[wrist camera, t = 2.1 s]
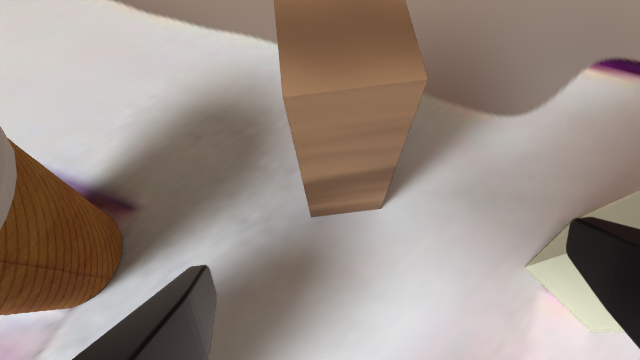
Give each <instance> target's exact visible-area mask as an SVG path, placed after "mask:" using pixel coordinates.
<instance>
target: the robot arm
mask: <svg viewBox="0 0 640 360" xmlns="http://www.w3.org/2000/svg"><path fill="white" fill-rule="evenodd" d="M566 253H567V255H568V257H569V259H570V260H571V262H572V263H573V264H574V266H575V267H576V269H577V270H578V271H579V273H580V274H581V276H582V277H583V278H584V280H585V281H586V283H587V284H588V285H589V287H590V288H591V290H592V291H593V292H594V294H595V295H596V297H597V298H598V299H599V301H600V302H601V303H602V305H603V306H604V307H605V309H606V310H607V311H608V312H609V314H610V315H611V316H612V317H613V319H614V320H615V321H616V322H617V323H618V324H619V325H620V327H621V328H622V329H623V330H624V331H625V332H626V334H627V335H628V336H629V337H630V338H631V339H632V340H633V342H634V343H635V344H636V345H637V346H638V347H639V349H640V229H638V228H634V227H630V226H626V225H622V224H619V223H615V222H611V221H607V220H603V219H599V218H595V217H581V218H575V219H573V220H572V221H571V222H570V225H569V230H568V236H567V242H566ZM216 300H217V297H216V290H215V286H214V283H213V279H212V276H211V272H210V269H209V267H208V266H207V265H200V266H192V267H189V268H188V269H187V270H186V271H184V272H183V273H182V274H180V275H179V276H178V277H177V278H175V279H174V280H173V281H171V282H170V283H169V284H168V285H166V286H165V287H164V288H163V289H161V290H160V291H159V292H157V293H156V294H155V295H154V296H152V297H151V298H150V299H149V300H147V301H146V302H145V303H143V304H142V305H141V306H140V307H138V308H137V309H136V310H135V311H133V312H132V313H131V314H129V315H128V316H127V317H126V318H124V319H123V320H122V321H121V322H119V323H118V324H117V325H115V326H114V327H113V328H112V329H110V330H109V331H108V332H106V333H105V334H104V335H103V336H101V337H100V338H99V339H98V340H96V341H95V342H94V343H92V344H91V345H90V346H89V347H87V348H86V349H85V350H84V351H82V352H81V353H80V354H78V355H77V356H76V357H75V358H73V359H72V360H208V358H209V352H210V345H211V338H212V330H213V323H214V316H215V308H216Z"/></svg>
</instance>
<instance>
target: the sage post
mask: <svg viewBox="0 0 640 360" xmlns="http://www.w3.org/2000/svg"><path fill="white" fill-rule="evenodd" d="M582 217H595V218H599V219H603V220H607V221H611V222H615V223H619V224H622V225H626V226H630V227H634V228H638V229H640V190H638V191H636V192H634V193H632V194H630V195H627V196H625V197H623V198H621V199H619V200H616V201H614V202H612V203H610V204H608V205H606V206H603V207H601V208H599V209H597V210H595V211H593V212H590V213H588V214H586V215H584V216H582ZM580 218H581V217H580ZM569 225H570V224H569ZM569 225H568V226H567V227H566V228H565V229H564V230H563V231H562V232H561V233H560V234H559V235H558V236H556V237H555V238H554V239H553V240H552V241H551V242H550V243H549V244H548V245H547V246H546V247H545V248H544V249H543V250H542V251H541V252H540V253H539V254H538V255H537V256H536V257H535V258H534V259H533V260H532V261H531V262H530V263H529V264H528V265H527V266H525V268H526V269H527V270H528V271H529V272H530V273H531V274H532V275H533V276H534V277H535V278H536V279H537V280H538V281H539V282H540V283H541V284H542V285H543V286H544V287H545V288H546V289H547V290H548V291H549V292H550V293H551V294H552V295H553V296H554V297H555V298H557V299H558V300H559V301H560V302H561V303H562V304H563V305H564V306H565V307H566V308H567V309H568V310H569V311H570V312H571V313H572V314H573V315H574V316H575V317H576V318H577V319H578V320H579V321H580V322H581V323H582V324H583V325H584V326H585V327H586V328H587V329H588V330H589V331H590V332H625V331H624V330H623V329H622V328H621V327H620V325H619V324H618V323H617V322H616V321H615V320H614V319H613V317H612V316H611V315H610V314H609V312H608V311H607V310H606V309H605V307H604V306H603V305H602V303H601V302H600V301H599V299H598V298H597V297H596V295H595V294H594V292H593V291H592V290H591V288H590V287H589V285H588V284H587V283H586V281H585V280H584V278H583V277H582V276H581V274H580V273H579V271H578V270H577V269H576V267H575V266H574V264H573V263H572V262H571V260H570V259H569V257H568V255H567V253H566V242H567V236H568V230H569Z"/></svg>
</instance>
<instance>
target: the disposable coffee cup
mask: <svg viewBox="0 0 640 360" xmlns="http://www.w3.org/2000/svg"><path fill="white" fill-rule="evenodd" d="M121 254H122V239H121V234H120V231H119V229H118V227H117V225H116V223H115V222H114V221H113V220H112V219H111V218H110V217H109V216H108V215H106V214H105V213H104V212H102V211H101V210H100V209H98V208H97V207H96V206H94V205H93V204H92V203H91V202H89V201H88V200H87V199H85V198H84V197H83V196H81V195H80V194H79V193H78V192H76V191H75V190H74V189H73V188H71V187H70V186H69V185H67V184H66V183H65V182H63V181H62V180H61V179H60V178H58V177H57V176H55V175H54V174H53V173H52V172H50V171H49V170H48V169H46V168H45V167H44V166H43V165H41V164H40V163H39V162H38V161H36V160H35V159H34V158H32V157H31V156H30V155H28V154H27V153H26V152H24V151H23V150H22V149H21V148H19V147H18V146H17V145H15V144H14V143H13V142H12V141H11V140H10V139H8V138H7V137H6V135H5V133H4V131H3V130H2V128H1V127H0V315H10V314H18V313H28V312H38V311H47V310H56V309H67V308H72V307H75V306H78V305H81V304H83V303H84V302H86V301H88V300H89V299H91V298H93V297H94V296H95V295H97V294H98V293H99V292H100V291H101V290H102V289H103V288H104V287H105V286H106V285H107V284H108V283H109V281H110V280H111V278H112V276H113V275H114V273H115V271H116V269H117V267H118V265H119V262H120V258H121Z"/></svg>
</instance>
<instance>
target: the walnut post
mask: <svg viewBox="0 0 640 360" xmlns="http://www.w3.org/2000/svg"><path fill="white" fill-rule="evenodd" d="M274 8H275V18H276V28H277V40H278V50H279V61H280V72H281V82H282V93H283V100H284V104H285V108H286V112H287V117H288V121H289V125H290V129H291V134H292V138H293V142H294V146H295V151H296V155H297V159H298V163H299V168H300V172H301V176H302V180H303V185H304V189H305V193H306V197H307V201H308V206H309V210H310V214H311V217H318V216H326V215H334V214H342V213H350V212H358V211H365V210H373V209H381V207H382V204H383V202H384V199H385V196H386V193H387V191H388V188H389V185H390V182H391V180H392V177H393V174H394V171H395V169H396V166H397V163H398V160H399V157H400V155H401V152H402V149H403V146H404V144H405V141H406V138H407V135H408V133H409V130H410V127H411V124H412V122H413V119H414V116H415V113H416V110H417V108H418V105H419V102H420V99H421V97H422V94H423V91H424V88H425V86H426V83H427V80H428V78H427V74H426V71H425V68H424V64H423V60H422V57H421V53H420V50H419V47H418V43H417V39H416V36H415V32H414V29H413V25H412V22H411V18H410V15H409V11H408V8H407V4H406V1H405V0H274Z"/></svg>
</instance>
